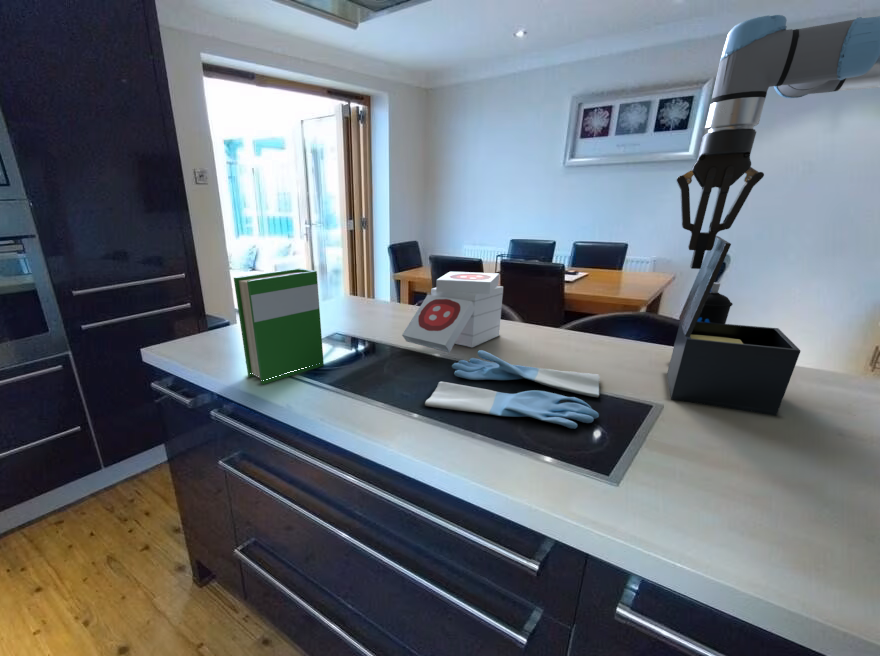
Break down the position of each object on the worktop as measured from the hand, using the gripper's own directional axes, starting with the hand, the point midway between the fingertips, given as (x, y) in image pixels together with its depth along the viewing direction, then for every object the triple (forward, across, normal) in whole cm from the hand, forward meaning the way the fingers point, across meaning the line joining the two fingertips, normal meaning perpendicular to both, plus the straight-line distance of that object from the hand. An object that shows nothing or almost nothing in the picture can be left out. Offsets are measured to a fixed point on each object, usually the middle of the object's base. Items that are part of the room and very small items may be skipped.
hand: (695, 267), depth 86 cm
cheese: (+19, -12, 0) cm, 23 cm away
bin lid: (+3, -2, 0) cm, 4 cm away
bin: (+25, -9, 0) cm, 27 cm away
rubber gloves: (+25, +28, +18) cm, 42 cm away
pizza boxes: (+25, +52, -12) cm, 59 cm away
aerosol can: (+25, -6, -15) cm, 30 cm away
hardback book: (+25, +82, +29) cm, 91 cm away
